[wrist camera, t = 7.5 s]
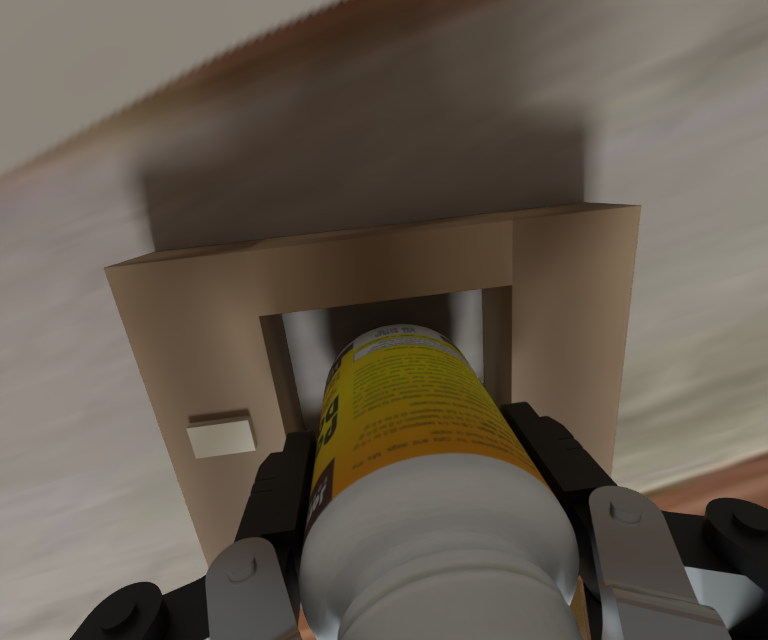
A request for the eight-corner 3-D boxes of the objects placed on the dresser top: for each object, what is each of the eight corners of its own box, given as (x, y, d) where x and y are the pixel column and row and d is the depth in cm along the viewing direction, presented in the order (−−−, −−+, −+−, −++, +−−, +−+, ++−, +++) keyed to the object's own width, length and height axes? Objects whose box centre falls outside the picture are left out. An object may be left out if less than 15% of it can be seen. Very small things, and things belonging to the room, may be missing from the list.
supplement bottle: (318, 323, 14) (237, 640, 4) (470, 313, 14) (723, 584, 4) (331, 452, 16) (297, 880, 6) (466, 440, 16) (639, 828, 6)
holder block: (584, 202, 14) (648, 205, 11) (567, 461, 18) (611, 517, 15) (154, 251, 14) (97, 270, 11) (232, 509, 18) (206, 578, 15)
